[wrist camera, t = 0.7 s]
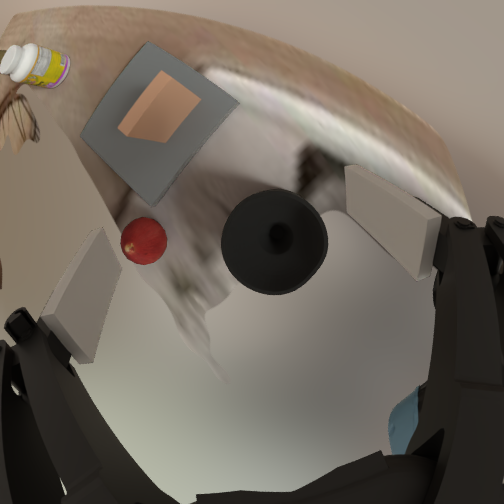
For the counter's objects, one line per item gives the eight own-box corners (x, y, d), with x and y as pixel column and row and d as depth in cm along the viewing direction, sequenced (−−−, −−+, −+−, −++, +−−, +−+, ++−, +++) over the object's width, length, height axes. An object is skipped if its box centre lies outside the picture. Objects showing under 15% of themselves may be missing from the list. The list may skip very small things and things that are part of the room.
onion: (154, 262, 37) (125, 284, 30) (131, 229, 36) (98, 244, 29) (184, 239, 36) (157, 258, 28) (159, 204, 35) (127, 214, 27)
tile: (201, 99, 29) (172, 77, 21) (165, 143, 31) (126, 136, 23) (191, 92, 29) (160, 69, 20) (156, 135, 31) (116, 127, 22)
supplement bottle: (42, 84, 31) (-8, 76, 19) (59, 53, 29) (10, 37, 17) (59, 92, 32) (4, 82, 19) (77, 58, 30) (25, 39, 17)
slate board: (239, 103, 30) (237, 101, 29) (155, 205, 35) (151, 206, 34) (151, 43, 28) (148, 40, 27) (84, 136, 33) (79, 136, 32)
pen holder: (231, 195, 33) (209, 204, 24) (308, 178, 31) (316, 180, 22) (250, 267, 36) (235, 302, 26) (323, 253, 34) (335, 284, 24)
